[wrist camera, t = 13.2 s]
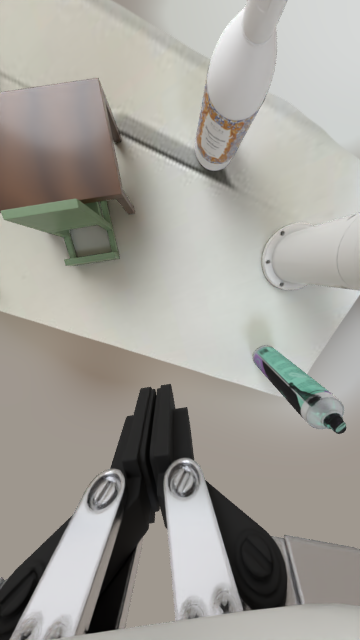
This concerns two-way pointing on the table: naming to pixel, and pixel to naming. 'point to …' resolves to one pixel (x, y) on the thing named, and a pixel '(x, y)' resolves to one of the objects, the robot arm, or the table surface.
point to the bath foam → (237, 81)
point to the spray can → (301, 390)
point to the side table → (58, 146)
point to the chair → (67, 224)
